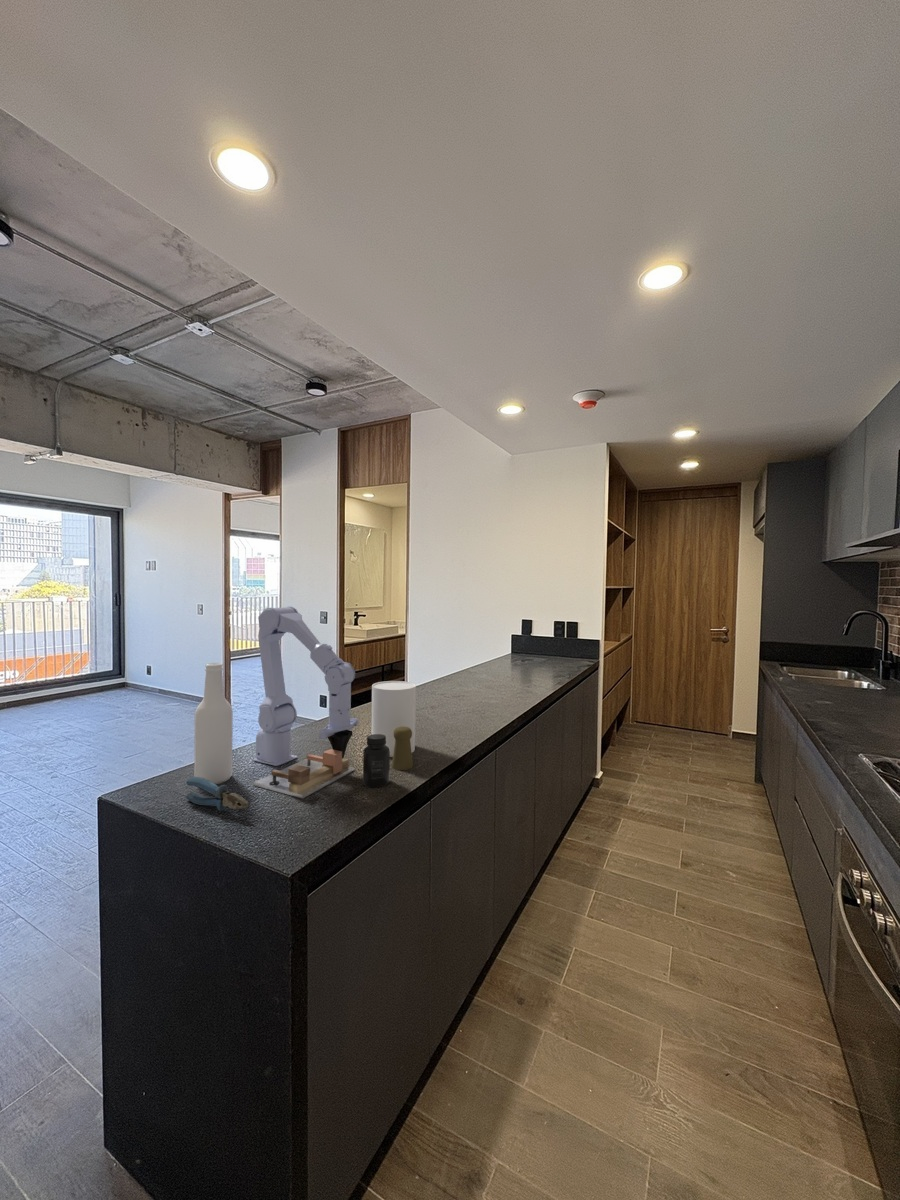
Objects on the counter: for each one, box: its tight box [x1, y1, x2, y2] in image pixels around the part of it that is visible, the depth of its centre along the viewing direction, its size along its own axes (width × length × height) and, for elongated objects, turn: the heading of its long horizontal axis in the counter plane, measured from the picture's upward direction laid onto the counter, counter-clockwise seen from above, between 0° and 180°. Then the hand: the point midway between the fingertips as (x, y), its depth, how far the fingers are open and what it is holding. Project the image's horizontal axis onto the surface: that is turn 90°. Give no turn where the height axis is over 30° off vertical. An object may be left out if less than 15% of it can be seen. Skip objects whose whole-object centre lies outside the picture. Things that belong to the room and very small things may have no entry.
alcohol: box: [193, 662, 234, 785], centre depth 125 cm, size 9×9×30 cm
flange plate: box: [253, 758, 355, 799], centre depth 128 cm, size 16×20×1 cm
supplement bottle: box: [362, 734, 391, 788], centre depth 126 cm, size 7×7×12 cm
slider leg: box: [305, 748, 342, 774], centre depth 131 cm, size 10×3×5 cm, turn 64°
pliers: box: [186, 776, 250, 811], centre depth 109 cm, size 20×2×6 cm, turn 61°
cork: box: [391, 727, 414, 771], centre depth 137 cm, size 6×6×11 cm
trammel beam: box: [270, 757, 350, 794], centre depth 127 cm, size 10×20×5 cm, turn 154°
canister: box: [370, 680, 417, 758], centre depth 151 cm, size 14×14×20 cm
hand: (339, 758), depth 132 cm, fingers closed
